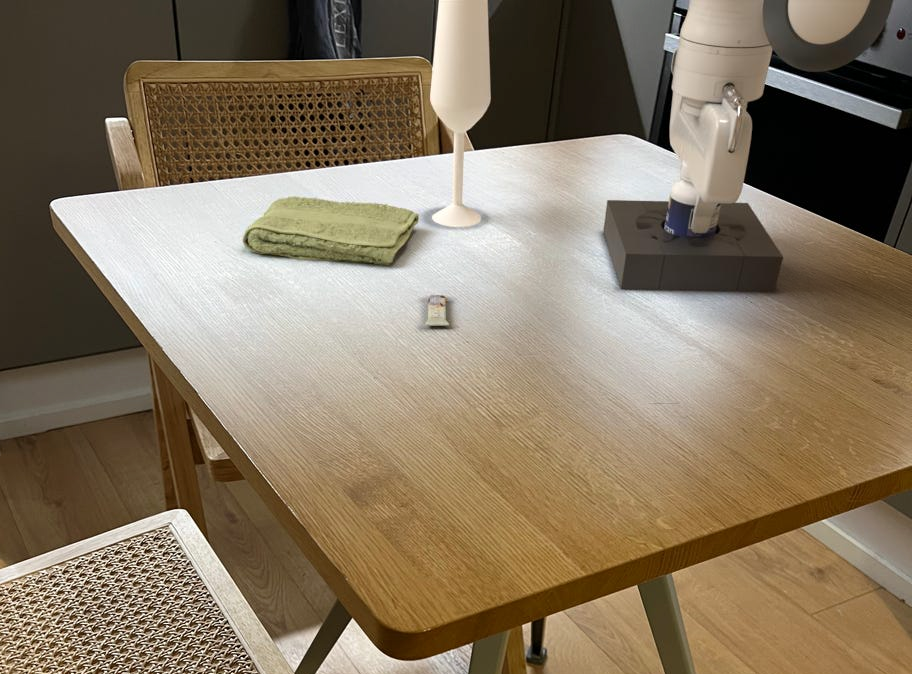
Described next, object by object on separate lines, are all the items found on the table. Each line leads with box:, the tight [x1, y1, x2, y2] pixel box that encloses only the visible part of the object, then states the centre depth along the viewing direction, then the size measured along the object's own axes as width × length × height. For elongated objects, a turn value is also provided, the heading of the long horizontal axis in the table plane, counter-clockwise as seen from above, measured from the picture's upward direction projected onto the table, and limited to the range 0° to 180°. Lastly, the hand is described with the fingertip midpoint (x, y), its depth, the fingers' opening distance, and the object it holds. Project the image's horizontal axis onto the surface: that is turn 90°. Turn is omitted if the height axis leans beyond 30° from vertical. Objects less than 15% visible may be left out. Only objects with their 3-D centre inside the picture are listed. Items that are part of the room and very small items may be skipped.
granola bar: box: [424, 294, 450, 327], centre depth 95 cm, size 7×2×1 cm, turn 0°
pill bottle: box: [664, 161, 721, 238], centre depth 103 cm, size 5×5×10 cm
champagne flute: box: [429, 0, 492, 228], centre depth 107 cm, size 7×7×24 cm
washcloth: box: [242, 195, 420, 266], centre depth 108 cm, size 13×18×3 cm
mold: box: [602, 199, 784, 294], centre depth 105 cm, size 16×16×4 cm
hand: (692, 218), depth 103 cm, fingers closed on pill bottle, 5 cm apart
